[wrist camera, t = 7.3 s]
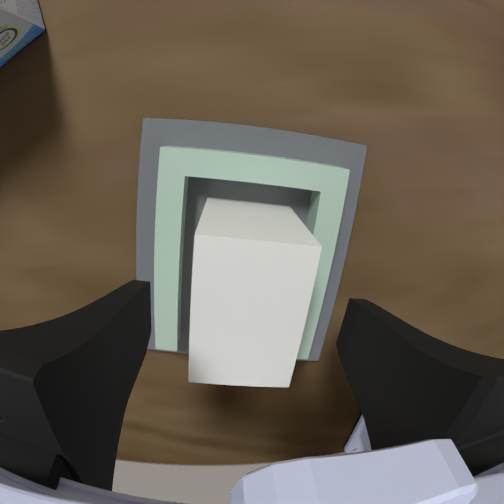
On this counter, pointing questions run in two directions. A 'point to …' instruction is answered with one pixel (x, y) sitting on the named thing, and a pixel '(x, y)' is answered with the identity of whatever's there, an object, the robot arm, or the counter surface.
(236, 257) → the block
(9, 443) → the robot arm
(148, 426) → the counter surface
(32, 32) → the medicine box
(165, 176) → the frame
